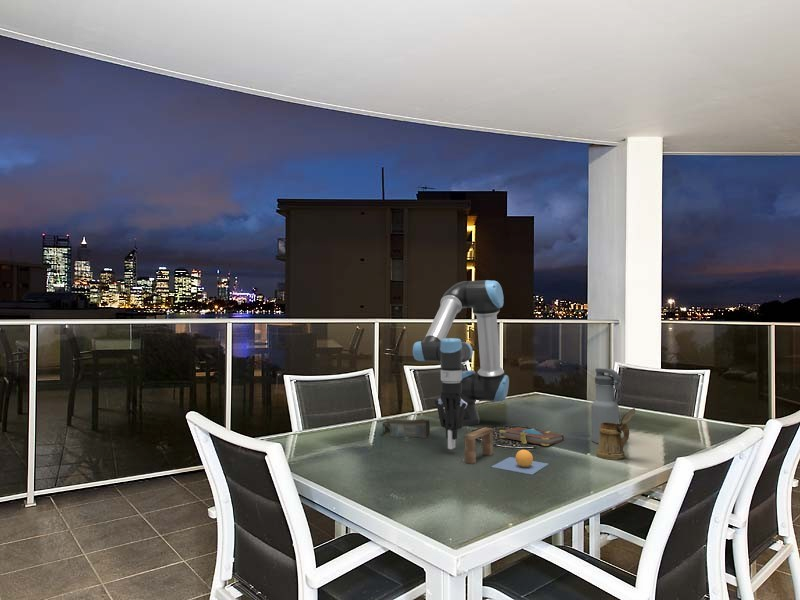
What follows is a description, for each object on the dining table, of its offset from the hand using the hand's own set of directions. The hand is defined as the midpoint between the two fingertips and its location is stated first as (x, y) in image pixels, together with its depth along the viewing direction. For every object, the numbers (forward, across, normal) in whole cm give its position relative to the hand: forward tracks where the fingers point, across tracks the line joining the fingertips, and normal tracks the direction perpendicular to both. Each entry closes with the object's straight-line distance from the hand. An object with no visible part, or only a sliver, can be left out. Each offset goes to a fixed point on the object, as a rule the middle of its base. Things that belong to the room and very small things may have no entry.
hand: (451, 448), depth 190 cm
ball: (-1, +28, 0) cm, 28 cm away
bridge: (+2, +11, 0) cm, 11 cm away
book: (+3, +13, +36) cm, 38 cm away
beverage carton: (+2, -30, +14) cm, 33 cm away
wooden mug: (+2, +49, +28) cm, 56 cm away
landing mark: (+2, +26, 0) cm, 26 cm away
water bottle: (+2, +40, +48) cm, 63 cm away
